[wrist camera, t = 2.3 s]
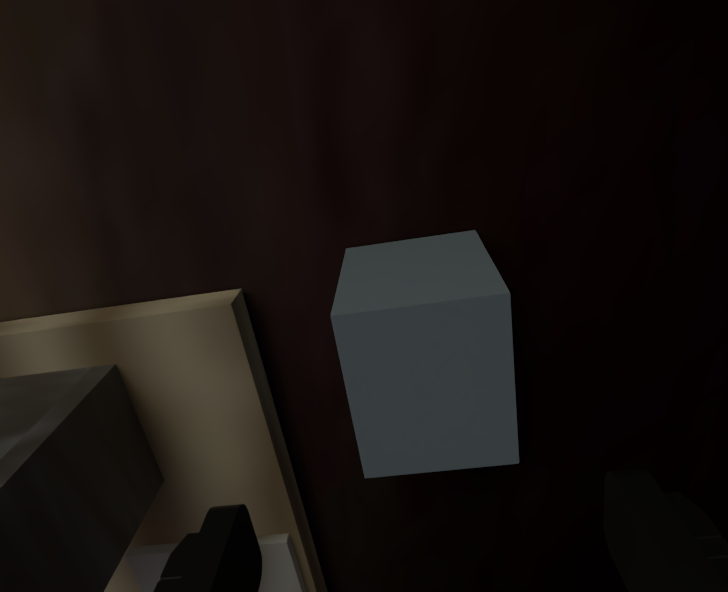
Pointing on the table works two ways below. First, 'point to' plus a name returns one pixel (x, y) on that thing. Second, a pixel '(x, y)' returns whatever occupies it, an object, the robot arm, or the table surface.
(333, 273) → the table surface
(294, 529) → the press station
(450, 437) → the block
